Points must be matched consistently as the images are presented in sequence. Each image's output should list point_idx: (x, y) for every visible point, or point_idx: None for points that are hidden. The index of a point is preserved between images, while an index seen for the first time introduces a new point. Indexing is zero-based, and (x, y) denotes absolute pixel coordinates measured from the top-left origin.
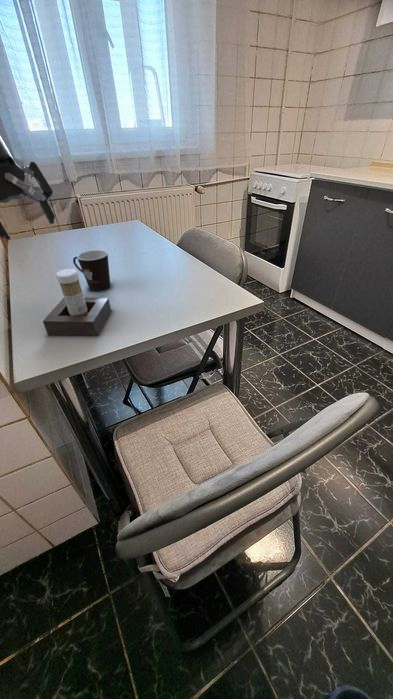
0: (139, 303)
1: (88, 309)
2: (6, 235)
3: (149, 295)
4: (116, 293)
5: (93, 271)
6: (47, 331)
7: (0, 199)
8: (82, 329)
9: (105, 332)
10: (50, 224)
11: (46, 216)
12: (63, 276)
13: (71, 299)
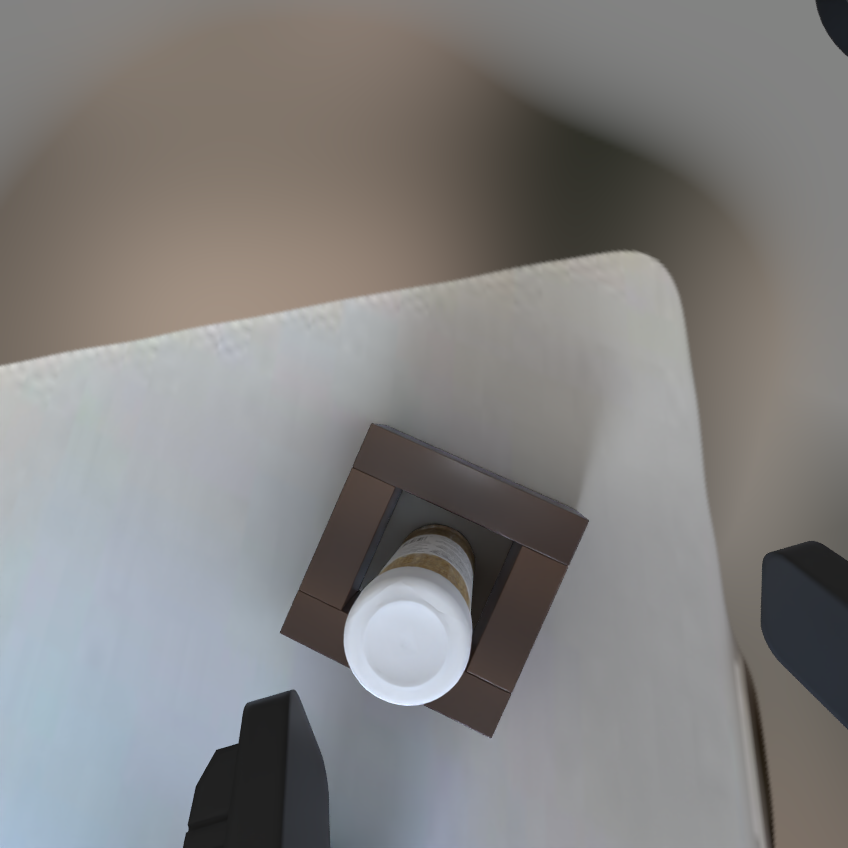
0: (176, 627)
1: None
2: (804, 548)
3: (116, 687)
4: None
5: None
6: (576, 511)
7: None
8: (429, 446)
9: (350, 440)
10: (322, 763)
11: (310, 818)
12: (425, 584)
13: (434, 550)
